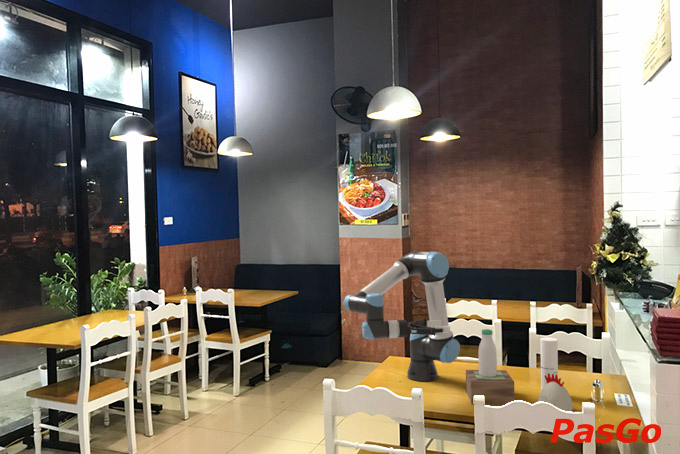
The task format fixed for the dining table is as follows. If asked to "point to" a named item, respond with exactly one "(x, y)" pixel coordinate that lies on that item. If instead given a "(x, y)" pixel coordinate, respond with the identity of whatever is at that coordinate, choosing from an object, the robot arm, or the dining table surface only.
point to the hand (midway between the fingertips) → (445, 326)
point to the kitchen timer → (556, 394)
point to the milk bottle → (487, 355)
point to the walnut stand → (490, 387)
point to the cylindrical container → (548, 358)
